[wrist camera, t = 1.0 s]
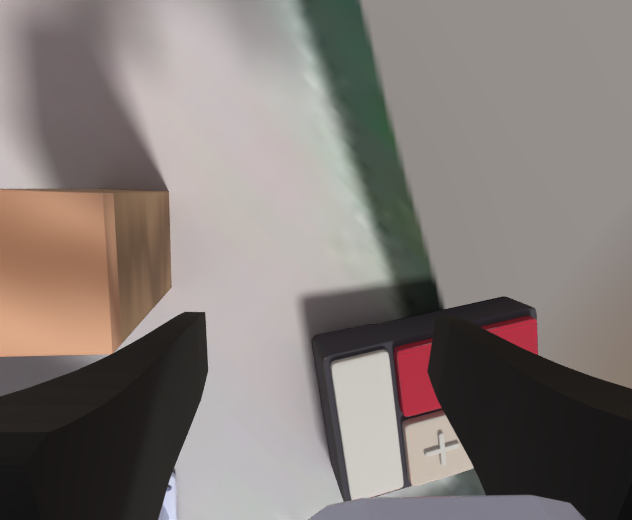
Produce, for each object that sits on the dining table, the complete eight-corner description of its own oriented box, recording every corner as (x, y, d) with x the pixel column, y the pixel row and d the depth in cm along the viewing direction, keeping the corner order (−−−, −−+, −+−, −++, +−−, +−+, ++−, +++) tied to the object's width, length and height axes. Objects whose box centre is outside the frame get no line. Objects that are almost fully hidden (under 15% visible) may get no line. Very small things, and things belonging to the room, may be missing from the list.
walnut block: (171, 287, 24) (112, 354, 14) (104, 287, 23) (-6, 356, 14) (168, 191, 23) (102, 193, 13) (98, 188, 22) (-26, 188, 13)
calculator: (549, 454, 27) (347, 517, 24) (507, 419, 31) (331, 469, 29) (546, 309, 25) (323, 361, 22) (502, 292, 29) (310, 334, 26)
